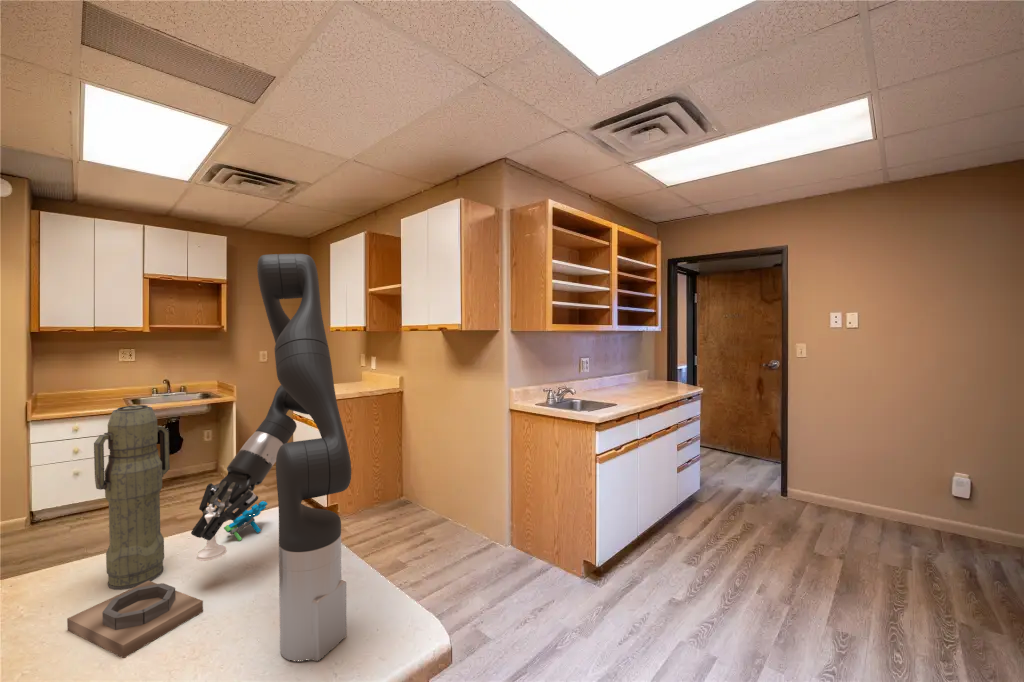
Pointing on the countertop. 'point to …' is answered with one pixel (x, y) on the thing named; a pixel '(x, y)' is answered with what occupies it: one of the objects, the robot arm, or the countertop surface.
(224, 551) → the chess piece
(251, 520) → the blue and green toy
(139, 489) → the thermos
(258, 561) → the countertop surface
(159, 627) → the socket board
